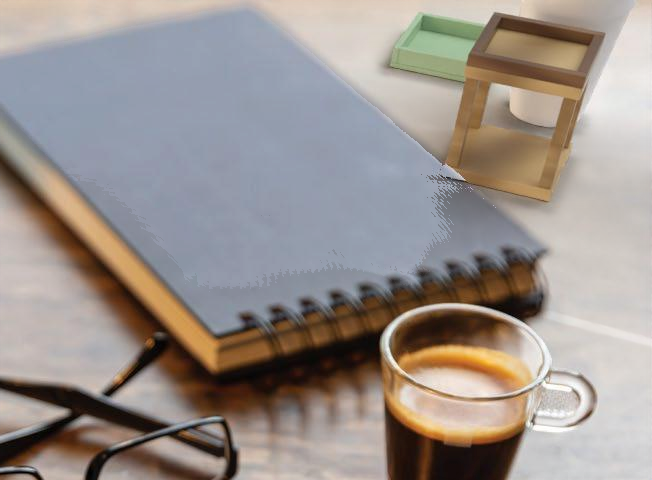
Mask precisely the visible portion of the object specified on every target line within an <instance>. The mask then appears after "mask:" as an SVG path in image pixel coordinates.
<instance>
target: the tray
mask: <svg viewBox="0 0 652 480" xmlns="http://www.w3.org/2000/svg"><path fill="white" fill-rule="evenodd" d="M415 15H416V16H415V17H414V18H413V20H412V21H411V22H410V24H409V25H408V27H407V28H406V30H405V31H404V32H403V33H402V34H401V36H400V38H399V39H398V41H397V42H396V43H395V44H394V46H393V48H392V53H391V58H390V64H389V67H391V68H394V69H399V70H405V71H408V72H409V71H410V72H414V73H419V74H424V75H427V76H428V75H429V76H433V77H438V78H442V79H447V80H452V81H457V82H462V83H465V80H466V77H464V72H465V67H466V63H467V59H468V54H469V52H470V51H471V49H472V48H473V46H474V44H475V43H476V41H477V39H478V38H479V36H480V35H481V33H482V31H483V30H484V28H485V26H486V25H487V24H485V23H480V22H474V21H469V20H464V19H459V18H454V17H448V16H443V15H438V14H433V13H427V12H421V11H418V13H417V14H415Z"/></svg>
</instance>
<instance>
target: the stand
mask: <svg viewBox="0 0 652 480" xmlns="http://www.w3.org/2000/svg"><path fill="white" fill-rule="evenodd" d="M485 25H486V26H485V28H484V30H483V31H482V33H481V35H480V36H479V38H478V39H477V41H476V43H475V44H474V46H473V48H472V49H471V51H470V52H469V54H468V59H467V63H466V67H465V72H464V77H466V80H465V82H464V85H463V89H462V94H461V98H460V101H459V107H458V111H457V115H456V119H455V123H454V127H453V133H452V137H451V141H450V146H449V149H448V154H447V157H446V159H445V161H444V163H446V164H447V165H448V166H450V167H451V168H453V169H454V170H455V171H456V172H457V173H459V174H460V175H461V176H462V177H463V178H464V179H465V180H466V181H467V182H468V184H471V185H477V186H481V187H485V188H488V189H494V190H498V191H503V192H506V193H510V194H515V195H519V196H524V197H527V198H532V199H536V200H540V201H545V202H550V201H551V199H552V196H553V194H554V192H555V189H556V187H557V185H558V182H559V180H560V178H561V175H562V173H563V170H564V168H565V167H566V164H567V161H568V159H569V157H570V154H571V152H572V148H573V144H574V143H572V140H573V136H574V132H575V128H576V125H577V123H578V122H577V119H578V116H579V112H580V109H581V106H582V102H583V99H584V96H585V92H586V89H587V86H588V82H589V79H590V76H591V73H592V71H593V68H594V66H595V64H596V62H597V59H598V57H599V55H600V52H601V48H602V44H603V42H604V38H605V35H606V33H604V32H599V31H594V30H588V29H583V28H578V27H572V26H567V25H562V24H556V23H551V22H546V21H540V20H535V19H530V18H524V17H519V15H513V14H508V13H502V12H497V11H494V12H493V13H492V15H491V16H490V18H489V20H488V22H487V23H486V24H485ZM492 84H498V85H503V86H506V87H510V88H511V87H516V88H521V89H526V90H530V91H535V92H540V93H545V94H550V95H555V96H560V97H564V98H563V101H562V105H561V108H560V112H559V115H558V119H557V122H556V126H555V127H554V128H553V129H554V130H553V133H552V136H551V138H549V137H544V136H540V135H537V134H536V135H535V134H531V133H527V132H523V131H522V132H521V131H517V130H513V129H508V128H503V127H499V126H496V125H495V126H494V125H489V124H486V123H483V120H484V115H485V111H486V107H487V104H488V99H489V95H490V91H491V88H492V87H491V86H492ZM467 182H466V183H467Z"/></svg>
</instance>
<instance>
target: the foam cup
mask: <svg viewBox="0 0 652 480" xmlns="http://www.w3.org/2000/svg"><path fill="white" fill-rule="evenodd" d="M637 1H638V0H520V4H519V5H520V6H519V13H518V14H519V15H518V16H519V17H524V18H530V19H535V20H540V21H546V22H551V23H556V24H562V25H567V26H572V27H578V28H583V29H588V30H594V31H599V32H604V33H606V35H605V38H604V42H603V44H602V48H601V52H600V55H599V57H598V59H597V62H596V64H595V66H594V68H593V71H592V73H591V76H590V79H589V82H588V86H587V89H586V92H585V96H584V99H583V102H582V106H581V109H580V112H579V116H578V119H577V123H578V122H579V121H580V120H581V119H582V117H583V113H584V112H585V111H586V109H587V107H588V104H589V102H590V100H591V97H592V96H593V93H594V91H595V89H596V87H597V85H598V83H599V80H600V78H601V76H602V74H603V71H604V69H605V68H606V65H607V63H608V61H609V59H610V57H611V54H612V52H613V49H614V48H615V45H616V44H617V41H618V38H619V37H620V35H621V32H622V31H623V27H624V26H625V24H626V22H627V19H628V17H629V15H630V12H631V11H632V10H633V9H635V7H636V4H637ZM509 93H510V94H509V103H508V105H509V112H510V113H511V114H512V115H514V116H515V118H517V119H518V120H521V121H523V122H525V123H527V124H529V125H532V126H539V127H544V128H555V126H556V122H557V119H558V115H559V112H560V108H561V105H562V101H563V98H564V97H560V96H555V95H550V94H545V93H540V92H535V91H530V90H526V89H521V88H516V87H511V86H510V92H509Z"/></svg>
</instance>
